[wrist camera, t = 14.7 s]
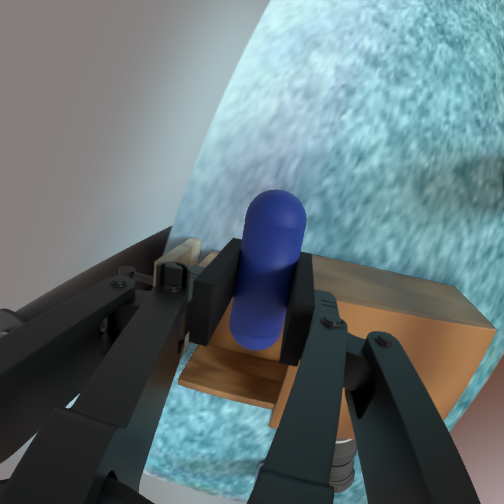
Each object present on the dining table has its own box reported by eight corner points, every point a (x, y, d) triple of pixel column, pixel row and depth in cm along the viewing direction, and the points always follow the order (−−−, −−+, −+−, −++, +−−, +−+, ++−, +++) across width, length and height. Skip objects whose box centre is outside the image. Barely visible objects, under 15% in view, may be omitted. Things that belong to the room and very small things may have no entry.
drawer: (142, 328, 34) (108, 365, 26) (146, 227, 30) (101, 247, 23) (315, 373, 32) (314, 424, 24) (349, 271, 28) (362, 308, 20)
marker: (232, 327, 19) (220, 353, 16) (256, 183, 16) (245, 186, 13) (279, 337, 19) (274, 366, 16) (311, 193, 16) (311, 199, 13)
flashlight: (353, 468, 37) (354, 494, 32) (319, 471, 38) (318, 497, 33) (359, 407, 33) (363, 438, 28) (317, 411, 34) (316, 442, 29)
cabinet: (279, 365, 33) (268, 427, 24) (308, 253, 29) (309, 294, 20) (408, 385, 31) (427, 442, 22) (454, 286, 27) (497, 329, 18)
